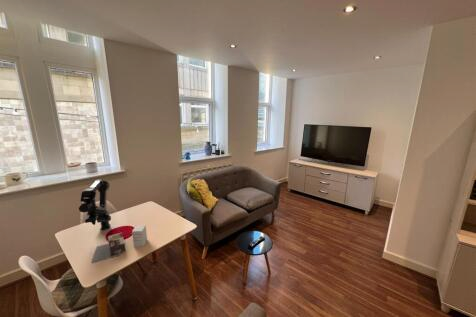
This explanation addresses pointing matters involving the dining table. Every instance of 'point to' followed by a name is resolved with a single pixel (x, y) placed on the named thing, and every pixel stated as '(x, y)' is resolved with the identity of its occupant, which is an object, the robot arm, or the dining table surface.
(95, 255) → the mat
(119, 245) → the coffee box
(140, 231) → the supplement box
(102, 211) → the robot arm
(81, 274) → the dining table surface
